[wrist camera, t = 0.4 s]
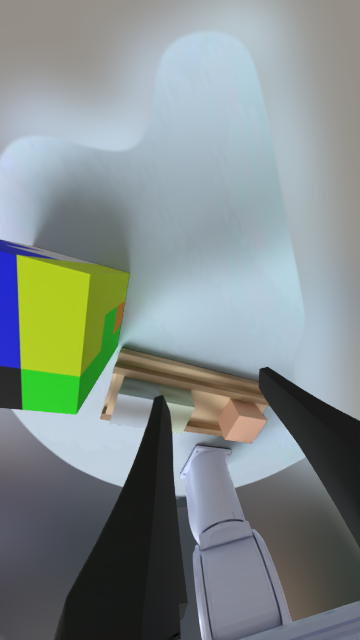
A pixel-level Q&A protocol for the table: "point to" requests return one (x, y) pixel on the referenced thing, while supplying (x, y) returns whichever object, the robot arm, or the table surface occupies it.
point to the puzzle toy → (55, 327)
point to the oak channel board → (200, 398)
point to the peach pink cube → (241, 421)
